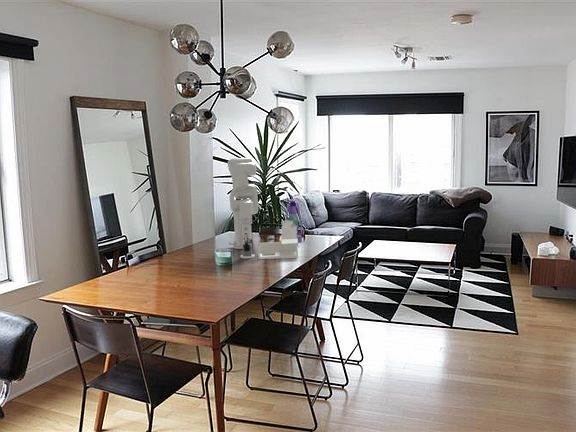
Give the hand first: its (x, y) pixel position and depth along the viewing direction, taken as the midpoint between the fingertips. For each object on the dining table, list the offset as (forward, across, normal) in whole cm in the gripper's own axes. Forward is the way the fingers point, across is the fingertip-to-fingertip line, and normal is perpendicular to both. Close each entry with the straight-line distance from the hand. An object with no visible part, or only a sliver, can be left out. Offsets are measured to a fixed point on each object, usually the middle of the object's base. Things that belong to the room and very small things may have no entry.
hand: (247, 249), depth 351 cm
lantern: (+5, +48, -29) cm, 56 cm away
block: (+4, 0, 0) cm, 4 cm away
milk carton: (+5, +20, -26) cm, 33 cm away
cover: (-3, 0, -26) cm, 26 cm away
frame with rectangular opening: (+5, 0, -19) cm, 20 cm away
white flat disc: (+5, 0, 0) cm, 5 cm away
